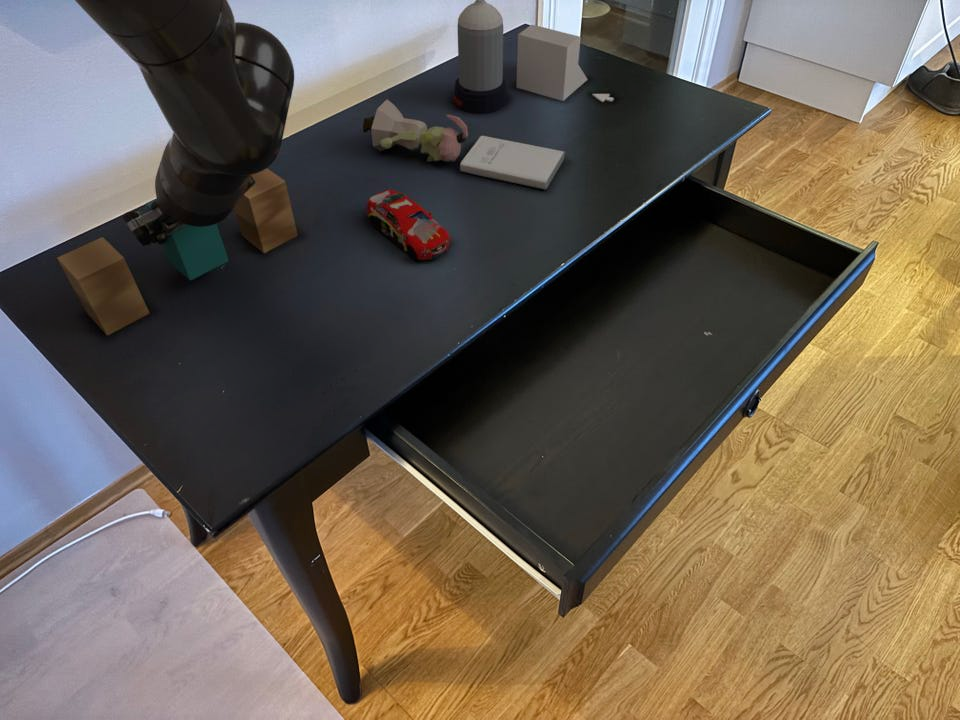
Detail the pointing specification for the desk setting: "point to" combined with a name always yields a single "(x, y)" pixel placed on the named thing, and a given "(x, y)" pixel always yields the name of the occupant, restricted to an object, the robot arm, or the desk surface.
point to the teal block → (194, 249)
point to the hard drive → (513, 162)
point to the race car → (407, 225)
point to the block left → (104, 285)
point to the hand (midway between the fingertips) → (179, 225)
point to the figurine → (414, 134)
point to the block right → (266, 212)
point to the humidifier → (480, 60)
